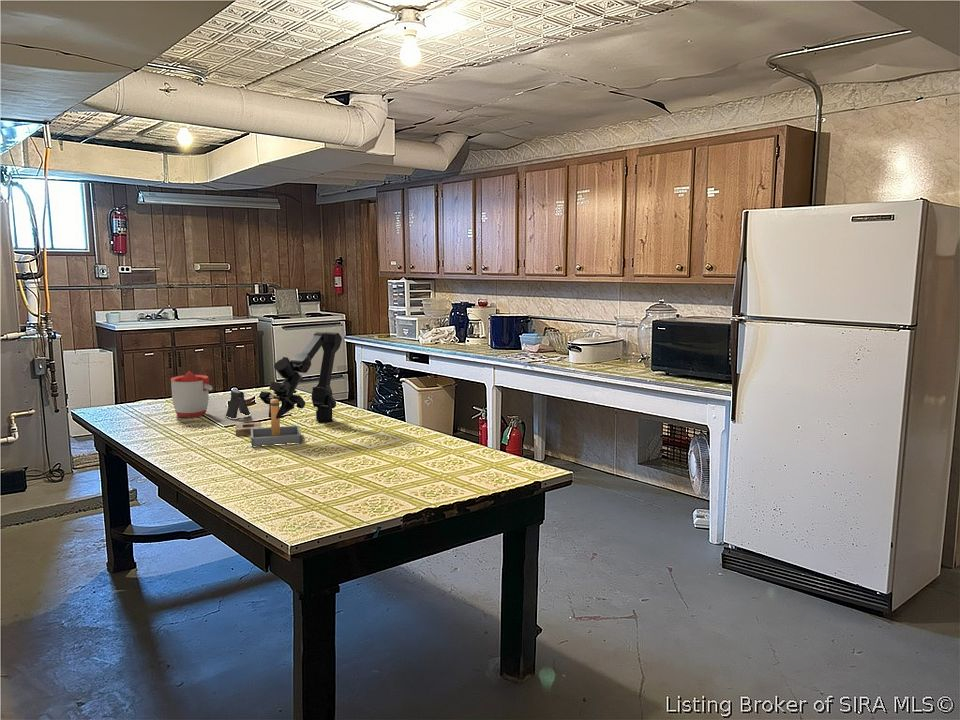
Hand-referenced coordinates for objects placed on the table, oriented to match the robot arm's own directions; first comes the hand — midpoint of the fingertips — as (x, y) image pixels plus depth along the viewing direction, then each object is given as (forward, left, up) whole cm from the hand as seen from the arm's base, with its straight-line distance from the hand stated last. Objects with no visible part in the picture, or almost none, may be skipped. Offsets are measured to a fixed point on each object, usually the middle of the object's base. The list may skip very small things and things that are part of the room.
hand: (273, 417), depth 270 cm
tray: (-1, -1, -9) cm, 10 cm away
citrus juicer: (+32, -52, -10) cm, 62 cm away
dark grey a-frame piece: (+13, -43, -10) cm, 46 cm away
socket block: (+9, -17, -9) cm, 21 cm away
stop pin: (-1, -1, -7) cm, 7 cm away
